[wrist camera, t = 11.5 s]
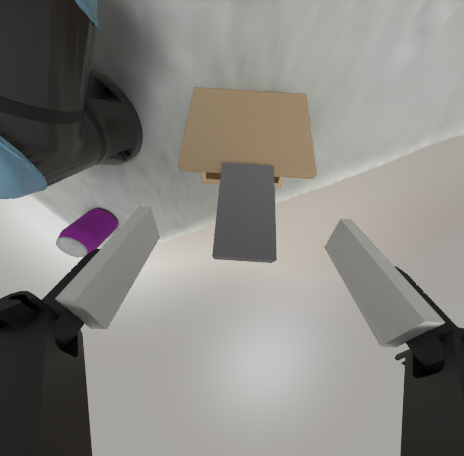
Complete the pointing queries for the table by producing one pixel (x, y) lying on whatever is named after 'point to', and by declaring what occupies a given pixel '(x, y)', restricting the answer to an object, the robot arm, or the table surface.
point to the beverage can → (87, 233)
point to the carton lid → (247, 161)
